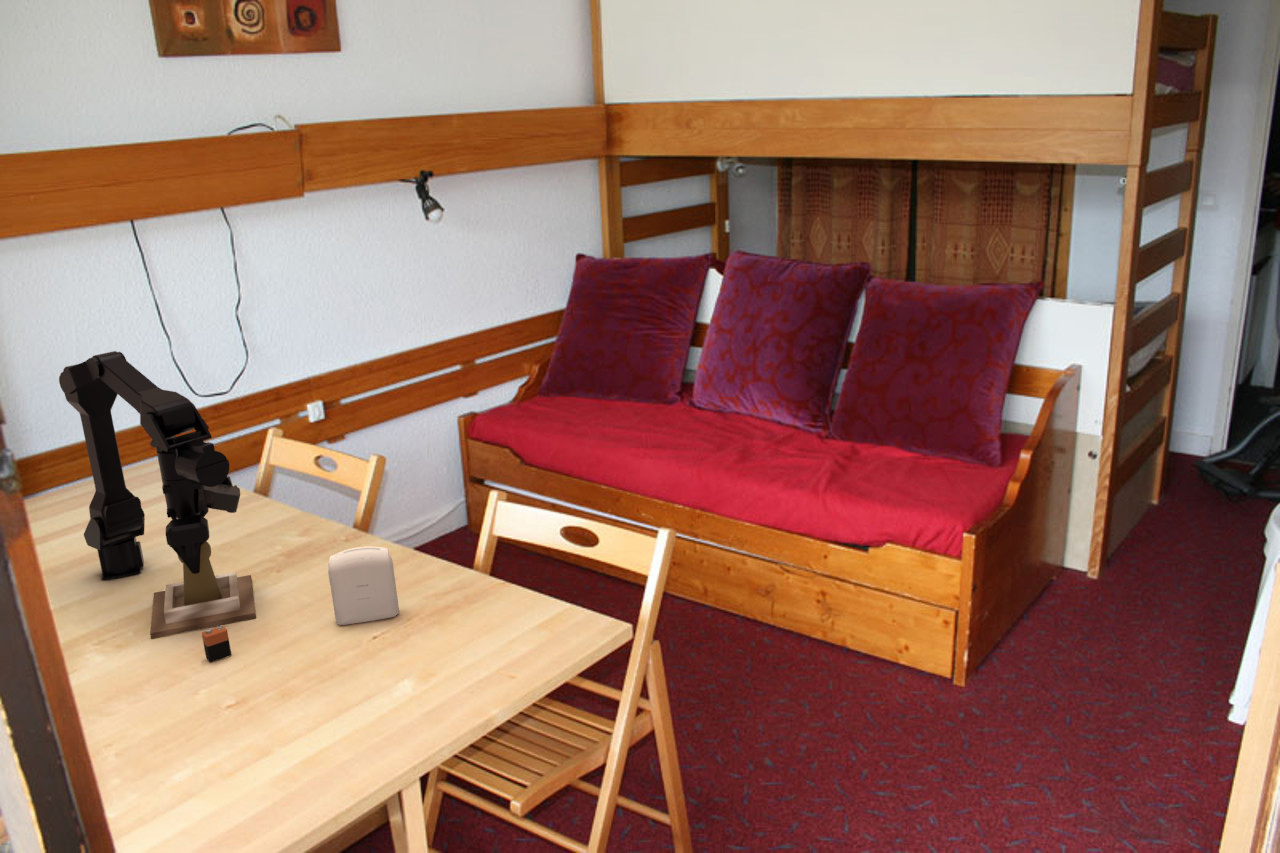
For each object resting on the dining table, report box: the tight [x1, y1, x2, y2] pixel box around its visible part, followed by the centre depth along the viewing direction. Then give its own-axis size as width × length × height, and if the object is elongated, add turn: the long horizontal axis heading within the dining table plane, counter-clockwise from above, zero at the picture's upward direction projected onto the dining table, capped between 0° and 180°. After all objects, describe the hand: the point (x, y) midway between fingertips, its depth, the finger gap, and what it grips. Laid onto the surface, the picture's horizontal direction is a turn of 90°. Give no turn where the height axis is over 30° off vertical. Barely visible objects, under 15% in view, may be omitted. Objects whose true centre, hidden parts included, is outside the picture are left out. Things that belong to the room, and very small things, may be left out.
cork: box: [177, 540, 222, 606], centre depth 177 cm, size 6×6×11 cm
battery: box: [201, 625, 232, 663], centre depth 162 cm, size 2×3×5 cm, turn 129°
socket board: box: [149, 571, 257, 640], centre depth 178 cm, size 16×16×3 cm
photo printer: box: [327, 546, 400, 626], centre depth 171 cm, size 10×4×12 cm, turn 104°
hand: (196, 562), depth 176 cm, fingers open, 9 cm apart
